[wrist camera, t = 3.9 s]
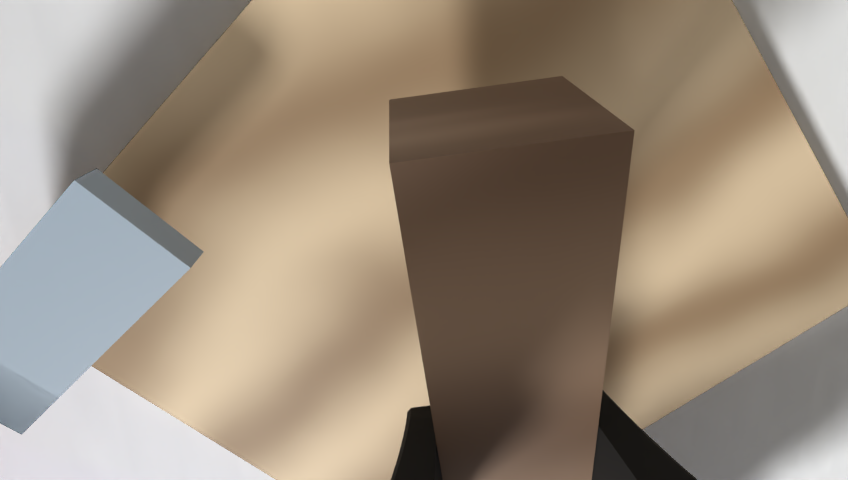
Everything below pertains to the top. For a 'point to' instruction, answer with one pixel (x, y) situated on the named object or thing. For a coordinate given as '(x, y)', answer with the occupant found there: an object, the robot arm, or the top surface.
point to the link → (512, 269)
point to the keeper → (79, 290)
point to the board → (380, 231)
